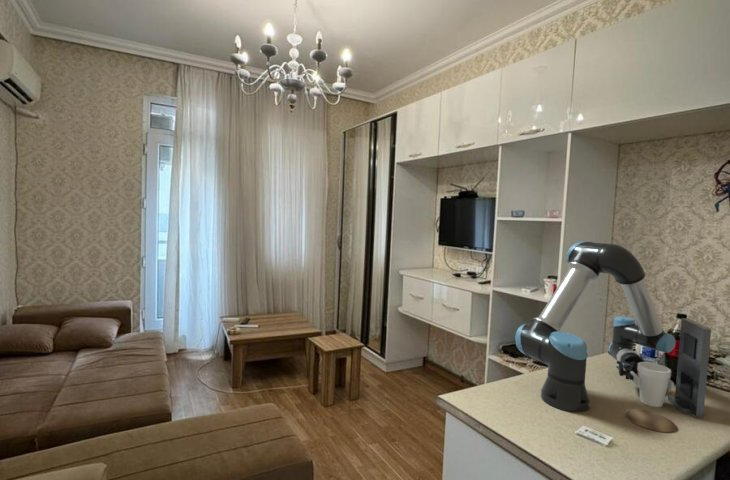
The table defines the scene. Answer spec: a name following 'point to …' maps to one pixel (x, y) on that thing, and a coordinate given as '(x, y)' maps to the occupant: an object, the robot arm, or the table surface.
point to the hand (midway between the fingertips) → (655, 384)
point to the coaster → (650, 420)
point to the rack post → (692, 368)
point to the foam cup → (653, 383)
